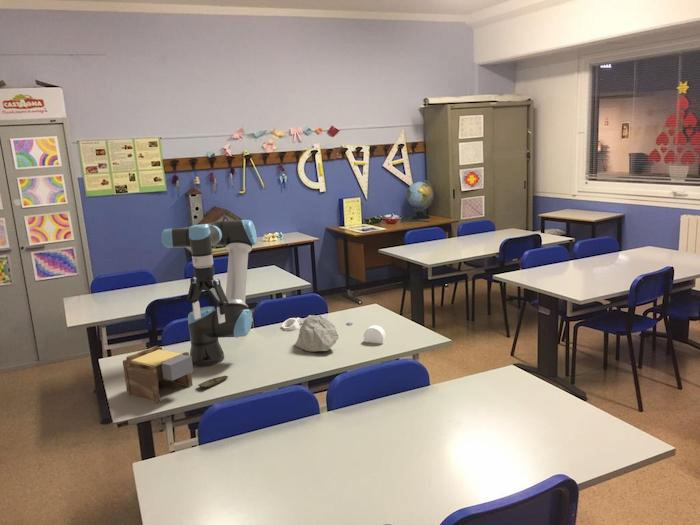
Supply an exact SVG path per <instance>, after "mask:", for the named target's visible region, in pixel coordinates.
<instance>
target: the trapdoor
mask: <svg viewBox="0 0 700 525" xmlns="http://www.w3.org/2000/svg"><path fill="white" fill-rule="evenodd" d="M131 362H133V363H137V364H142V365H146V366H158V365H160V364H161V365H162V372H163V379H167V380H171V381H173V380H175V379H178V378H180V377H182V376H184V375H186V374H189V373H191V374H192V373H193V372H194V366H193V364H192V356H187V355H182V353H179V352H175V351H169V350H163V349H162V350H156V351H153V352H151V353H148V354H146V355H143V356H141V357H138V358H135V359H133V360H131Z"/></svg>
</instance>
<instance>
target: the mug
mask: <svg viewBox="0 0 700 525" xmlns="http://www.w3.org/2000/svg"><path fill="white" fill-rule="evenodd" d="M304 320H305V319H304V318H301V317H291V318H288V319H286V320H285V321H283V322H282V325H281V327H282V329H283V330H285V331H295V330H297V329H298V330H299V329H300V328H301V325H302V324H303V322H304ZM299 321H300V323H299ZM300 324H301V325H300Z"/></svg>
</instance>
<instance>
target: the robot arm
mask: <svg viewBox="0 0 700 525" xmlns="http://www.w3.org/2000/svg"><path fill="white" fill-rule="evenodd" d="M161 242H162V245H163V247H164V248H167V249H175V248H176V249H177V248H190V252H191V260H192V266H193V269H192V270H193V276H194V277H190V279H189V282H190V284H189V290H188V294H187V297H186V300H187V301H190V303H191V307H192V311H191V312H189V313H188V315H187V320H188V322H187V324H188V330H189V338H190V349H189V356H192V364H193V367H207V366H214V365H216V364H219V363H221V362H222V361H224V360H225V353H224V352H225V351H224V350H223V348H222V346H221V344H220V342H219V338H239V337H240V338H241V337H246V336H248V335H249V333H250V331H251V328H252V325H253V314H252V313H253V312H252V310H251V309H249V305H248V304H246V295H247V294H246V293H247V277H248V276H247V275H248V263H249V262H248V261H249V253H250V252H251V251H253V246H255V245H257V242H258V237H257V231H256V227H255V225H254V222H253V220H250V219H235V220H234V219H233V220H217V221H213V222H209V223H208V222H207V223H201V224H200V223H199V224H194V225H191V226H188V227H178V228H171V227H170V228H165V229H164V230H163V231H162V233H161ZM213 246H214V247H215V246H216V247H225V249H226V250H227V251H228V257H227V258H228V262H227V271H226V272H227V274H226V284H225V291H224V289H223V287H222V284H221V279H219V278H218V279H214V275H215V266H214V257H213V256H214V255H213ZM203 291H205V292H207V293H209V294H210V295H211V296H212V299H213V300H214V302H215V303H216V304H217V306H216V308H215V306H211V305H209V306H203V307H201V306H200V301H199V298H200V296H201V294H202V292H203Z"/></svg>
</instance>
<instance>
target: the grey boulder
mask: <svg viewBox="0 0 700 525" xmlns="http://www.w3.org/2000/svg"><path fill="white" fill-rule="evenodd" d="M298 332H299V333H298V337H297V340H296V342H295V346H296V347H298V348H300V349H301V350H304V351H306V352H312V353H313V352H327V351H329V350H330V348H332V347H334V345H335V344H336V343H337V340H339V334H338V331H337V328H336V325H335V324H334V323H333V322H332V321H330V320H329V319H328V318H326V317H324V316H323V315H320V314H318V315H314V314H313V315H310V314H309V315H308V316H306V317H305V319H304V322H303V324H301V325H300V328H299V331H298Z"/></svg>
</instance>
